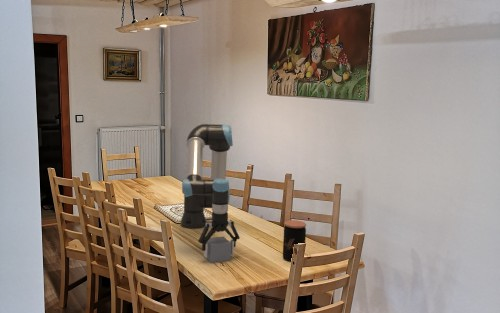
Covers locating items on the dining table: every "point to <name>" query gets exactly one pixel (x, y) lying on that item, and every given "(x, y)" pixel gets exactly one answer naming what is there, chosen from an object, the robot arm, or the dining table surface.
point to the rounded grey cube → (218, 250)
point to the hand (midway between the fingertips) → (218, 255)
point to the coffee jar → (293, 237)
